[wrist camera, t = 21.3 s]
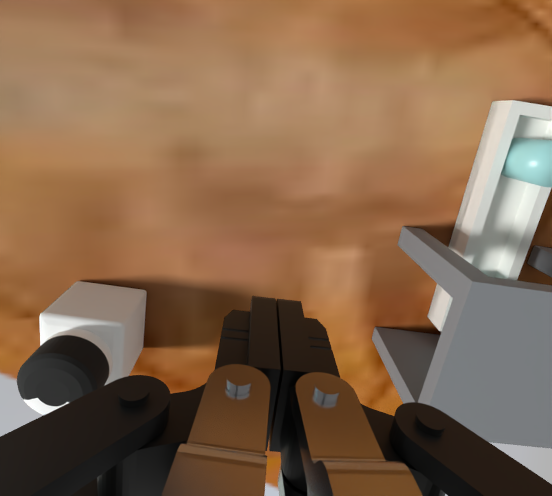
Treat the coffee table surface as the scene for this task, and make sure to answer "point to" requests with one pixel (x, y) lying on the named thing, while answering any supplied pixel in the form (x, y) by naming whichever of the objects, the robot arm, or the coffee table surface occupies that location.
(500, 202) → the tray
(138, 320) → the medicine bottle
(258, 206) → the coffee table surface
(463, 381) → the grey stand
